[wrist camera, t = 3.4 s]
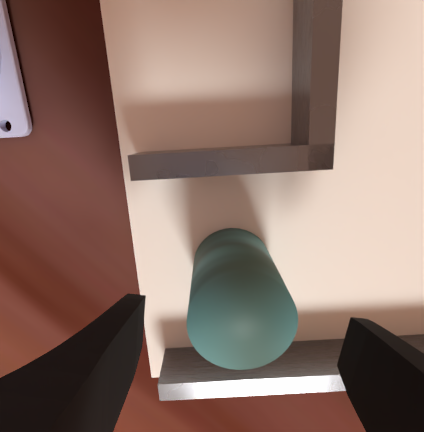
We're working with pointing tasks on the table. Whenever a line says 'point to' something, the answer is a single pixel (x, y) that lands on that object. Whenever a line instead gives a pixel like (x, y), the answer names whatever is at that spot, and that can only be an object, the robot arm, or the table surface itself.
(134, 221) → the maze board
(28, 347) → the table surface
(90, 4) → the table surface
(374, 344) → the robot arm
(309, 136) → the guide walls
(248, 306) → the peg
